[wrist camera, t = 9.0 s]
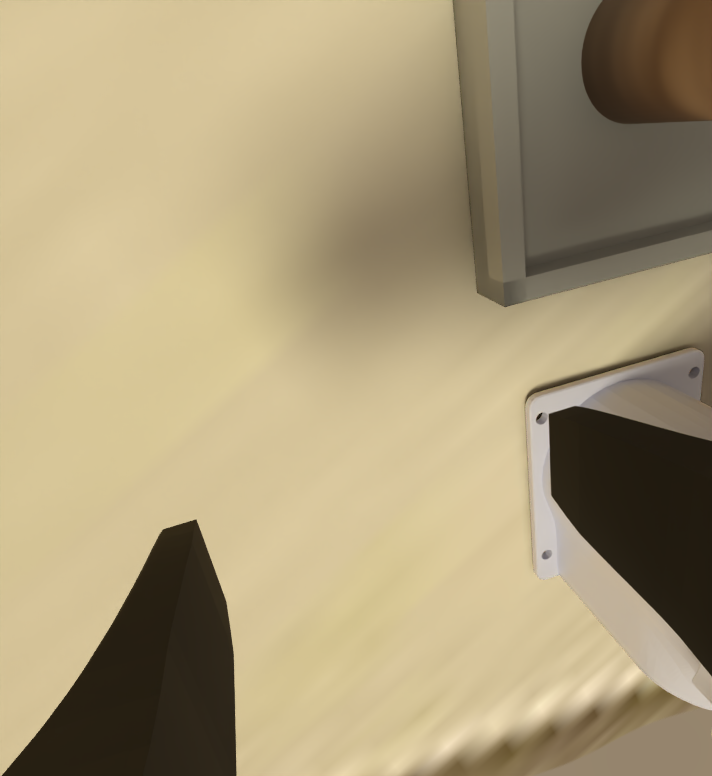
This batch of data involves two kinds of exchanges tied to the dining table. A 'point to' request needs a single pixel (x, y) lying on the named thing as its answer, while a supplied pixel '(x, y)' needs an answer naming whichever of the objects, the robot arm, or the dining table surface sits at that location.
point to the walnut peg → (650, 60)
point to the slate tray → (566, 160)
